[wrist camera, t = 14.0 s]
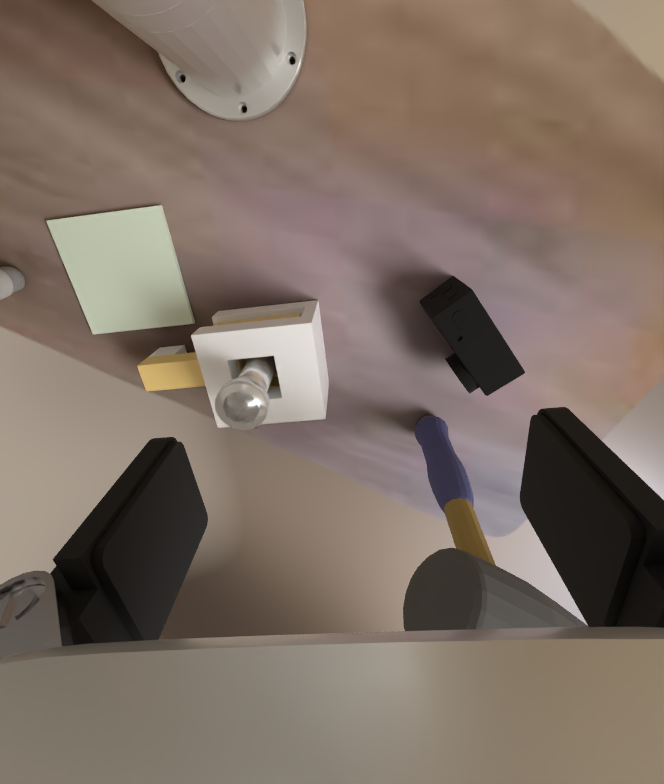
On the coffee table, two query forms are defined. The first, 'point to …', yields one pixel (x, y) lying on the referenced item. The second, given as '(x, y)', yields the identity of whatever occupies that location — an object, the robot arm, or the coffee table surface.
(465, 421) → the coffee table surface
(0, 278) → the lightbulb
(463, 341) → the digital camera
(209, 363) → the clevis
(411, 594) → the rubber mallet
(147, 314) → the pin mat
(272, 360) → the steel pin
